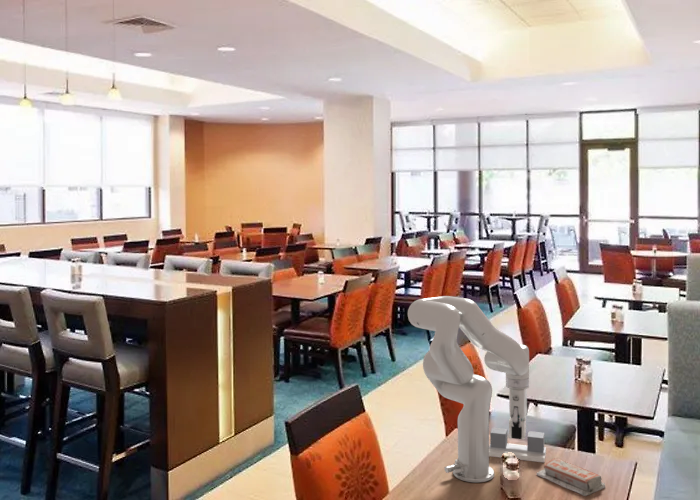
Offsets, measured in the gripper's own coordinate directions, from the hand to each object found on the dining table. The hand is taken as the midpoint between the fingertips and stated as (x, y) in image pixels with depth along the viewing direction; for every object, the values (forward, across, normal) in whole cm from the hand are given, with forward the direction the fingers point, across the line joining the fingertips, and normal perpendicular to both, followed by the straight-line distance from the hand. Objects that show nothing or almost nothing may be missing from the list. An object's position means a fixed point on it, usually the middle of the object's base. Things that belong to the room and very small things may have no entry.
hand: (517, 434), depth 221 cm
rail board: (+7, 0, 0) cm, 7 cm away
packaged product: (+7, -16, -17) cm, 25 cm away
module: (+1, 0, 0) cm, 1 cm away
